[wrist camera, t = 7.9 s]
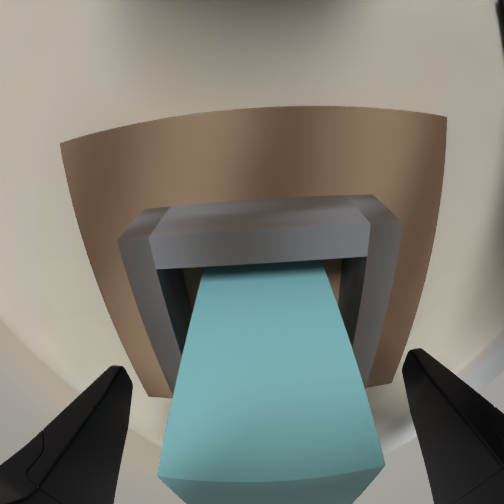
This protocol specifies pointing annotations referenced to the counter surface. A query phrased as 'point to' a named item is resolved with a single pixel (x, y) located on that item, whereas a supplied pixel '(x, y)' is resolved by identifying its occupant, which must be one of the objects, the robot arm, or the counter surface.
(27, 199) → the counter surface
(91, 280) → the counter surface
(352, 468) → the teal post
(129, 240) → the well block
